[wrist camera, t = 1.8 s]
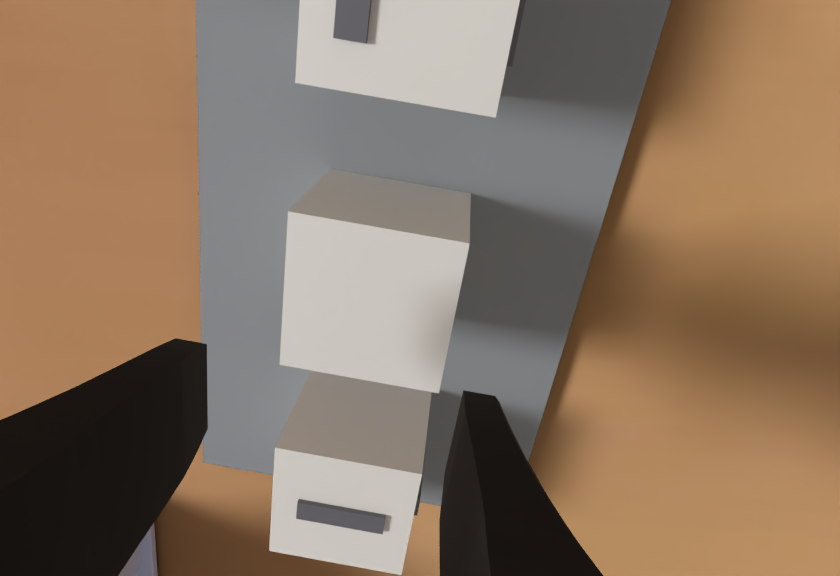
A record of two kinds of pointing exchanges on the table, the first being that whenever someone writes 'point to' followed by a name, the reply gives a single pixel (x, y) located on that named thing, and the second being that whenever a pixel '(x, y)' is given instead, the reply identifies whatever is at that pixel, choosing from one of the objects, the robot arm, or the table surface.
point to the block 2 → (349, 472)
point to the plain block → (373, 278)
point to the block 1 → (410, 49)
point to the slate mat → (421, 164)
